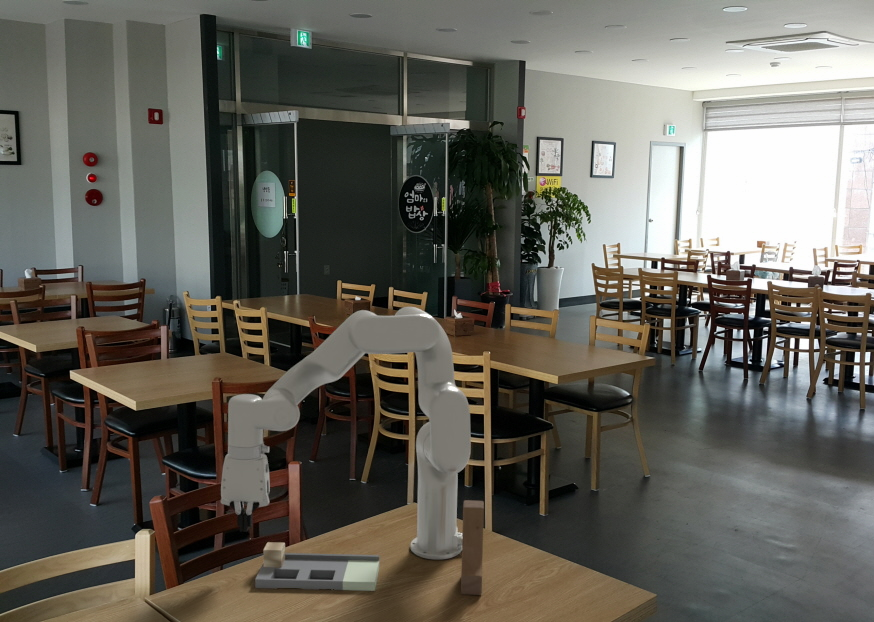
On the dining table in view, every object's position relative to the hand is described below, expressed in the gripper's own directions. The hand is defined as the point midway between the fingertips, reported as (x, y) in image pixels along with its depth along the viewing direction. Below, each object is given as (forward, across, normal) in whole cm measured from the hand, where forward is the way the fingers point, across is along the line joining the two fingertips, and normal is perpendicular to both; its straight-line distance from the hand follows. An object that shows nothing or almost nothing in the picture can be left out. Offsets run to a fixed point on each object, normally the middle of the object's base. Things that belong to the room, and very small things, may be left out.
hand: (244, 529), depth 179 cm
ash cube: (+8, -7, 0) cm, 10 cm away
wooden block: (+9, -51, +4) cm, 52 cm away
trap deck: (+10, -17, +2) cm, 20 cm away
